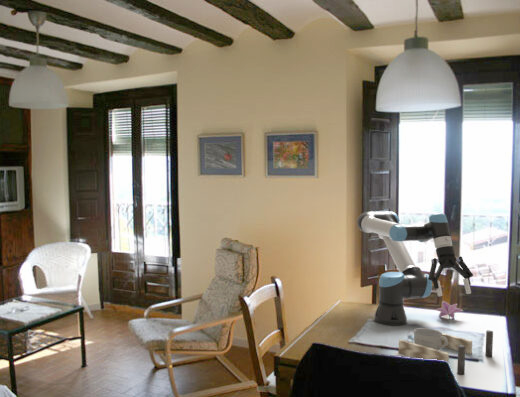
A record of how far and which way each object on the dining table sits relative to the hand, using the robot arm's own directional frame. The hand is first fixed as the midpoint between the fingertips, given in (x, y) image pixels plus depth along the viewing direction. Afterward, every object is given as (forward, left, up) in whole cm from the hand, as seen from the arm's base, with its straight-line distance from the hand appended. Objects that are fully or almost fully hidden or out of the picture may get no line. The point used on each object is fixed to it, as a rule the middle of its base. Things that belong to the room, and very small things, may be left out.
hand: (454, 294), depth 212 cm
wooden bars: (+7, -23, -19) cm, 31 cm away
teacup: (+1, -23, -19) cm, 30 cm away
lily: (-14, +25, -19) cm, 34 cm away
